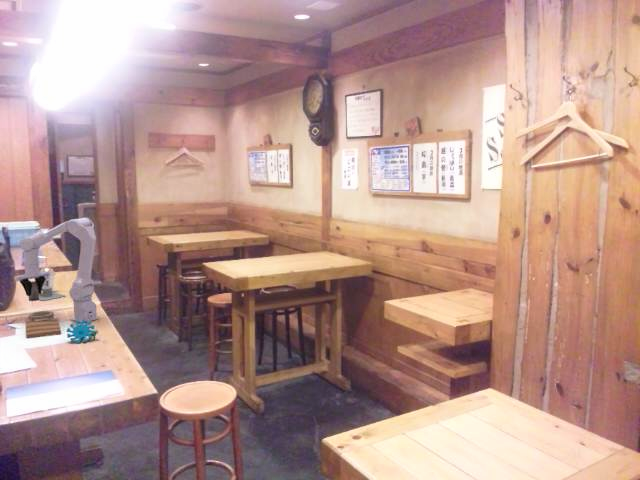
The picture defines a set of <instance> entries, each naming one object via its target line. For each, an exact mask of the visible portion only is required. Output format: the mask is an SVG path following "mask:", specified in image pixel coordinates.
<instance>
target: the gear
mask: <svg viewBox="0 0 640 480" xmlns="http://www.w3.org/2000/svg"><path fill="white" fill-rule="evenodd" d="M74 322H75V324H76V325H74V323H70V324H69V327H68V328H67V329H66V332H67V334H66V337H67V339H68V338H70V342H71V343H73V342H75V343H76V344H78V343H79V344H80V343H81V340H82V343H83V342H85V343H88V341H87V337H88V340H91V339H96V336H97V334H99V330H98V329H96V330H95V325H94V324H92V322H91V321H88V322H86V320H84V319H83V320H82V322H79V320H76V321H74ZM71 328H72V330H71ZM75 340H76V341H75Z"/></svg>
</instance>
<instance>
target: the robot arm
mask: <svg viewBox="0 0 640 480" xmlns="http://www.w3.org/2000/svg"><path fill="white" fill-rule="evenodd" d="M94 227H95V223H93V221H92V220H91V219H90V218H88V217H82V218H81V217H80V218H75V219H74V218H72V219H69V220H66V221H64V222H62V223H60V224H58V225H56V226H54V227H52V228H51V229H45V228H43V229H42V228H41V229H39V230H38V232H36V233H31V234H30V235H29V237H23V238H21V240H20V241H19V246H20V249H21V250H22V251H23V262H24V274H20V275H16V276H14V277H13V278H14V282H20V284H21V286H22V287H23V289H24V292H25V294H26V295H25V296H27V297H29V296H30V295H31V293H30V284H31V282H32V281H31V280H34V281H38V289H39V295H42V291H41V290H42V286H43V284H44V282H45V280H46V278H45V276H50V272H48V271H47V272H40V270H41V269H40V258H39V256H40V255H39V252H40V248H41V247H42V246H44V245H46V244H48V243H51V242H52V241H53V240H54V237H56V236H58V235H61V234H63V233H65V232H66V233H69V234H71V235H72V236H74V237H75V238H76V239H78V240H79V241H80V242H81V244H80V251H79V252H80V253H79V259H78V267H77V274H76V278H75V279H74V281H73V282H72V285H71V287H70V289H69V292H68V293H69V296H70V298H71V299H72V301H73V317H71V318H69V320H72V321H74V322H75V321H76V320H79V323H81V322H82V320H83V319H84V320H86V322H85V323H87V322H88V321H90V322H91V321H95V320H99V317H97V312H98V311H97V304H96V303H95V302H94V301H93V299H92V298H93V294H94V293H95V286H94V283H95V282H94V281H95V280H94V279H92V270H93V265H94V264H93V263H94V257H95V249H96V242H97V236H96V233H95V230H94Z"/></svg>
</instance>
